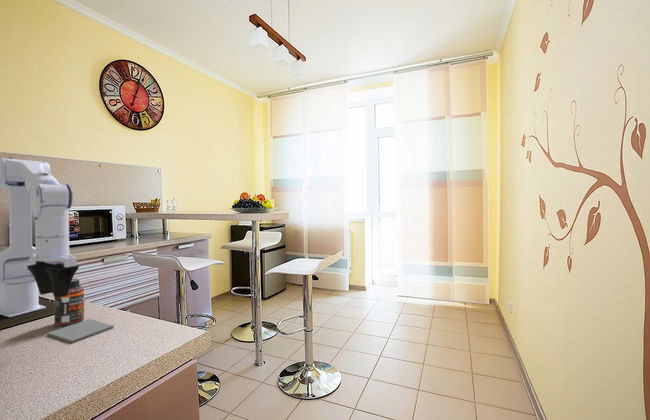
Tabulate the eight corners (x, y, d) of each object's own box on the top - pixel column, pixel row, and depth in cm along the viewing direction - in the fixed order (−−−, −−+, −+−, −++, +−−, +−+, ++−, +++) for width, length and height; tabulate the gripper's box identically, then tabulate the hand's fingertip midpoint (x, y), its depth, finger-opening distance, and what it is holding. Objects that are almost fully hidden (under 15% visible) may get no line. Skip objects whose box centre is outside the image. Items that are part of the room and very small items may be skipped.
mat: (47, 335, 71) (47, 332, 71) (89, 321, 79) (89, 319, 79) (72, 343, 67) (72, 340, 67) (113, 327, 76) (113, 325, 76)
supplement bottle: (71, 327, 76) (70, 283, 75) (48, 327, 76) (47, 283, 75) (90, 318, 82) (89, 277, 81) (68, 317, 82) (68, 277, 81)
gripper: (13, 236, 68) (14, 295, 68) (48, 240, 62) (49, 304, 62) (51, 233, 74) (52, 287, 74) (86, 236, 68) (87, 295, 69)
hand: (53, 294), depth 69 cm, fingers open, 5 cm apart
